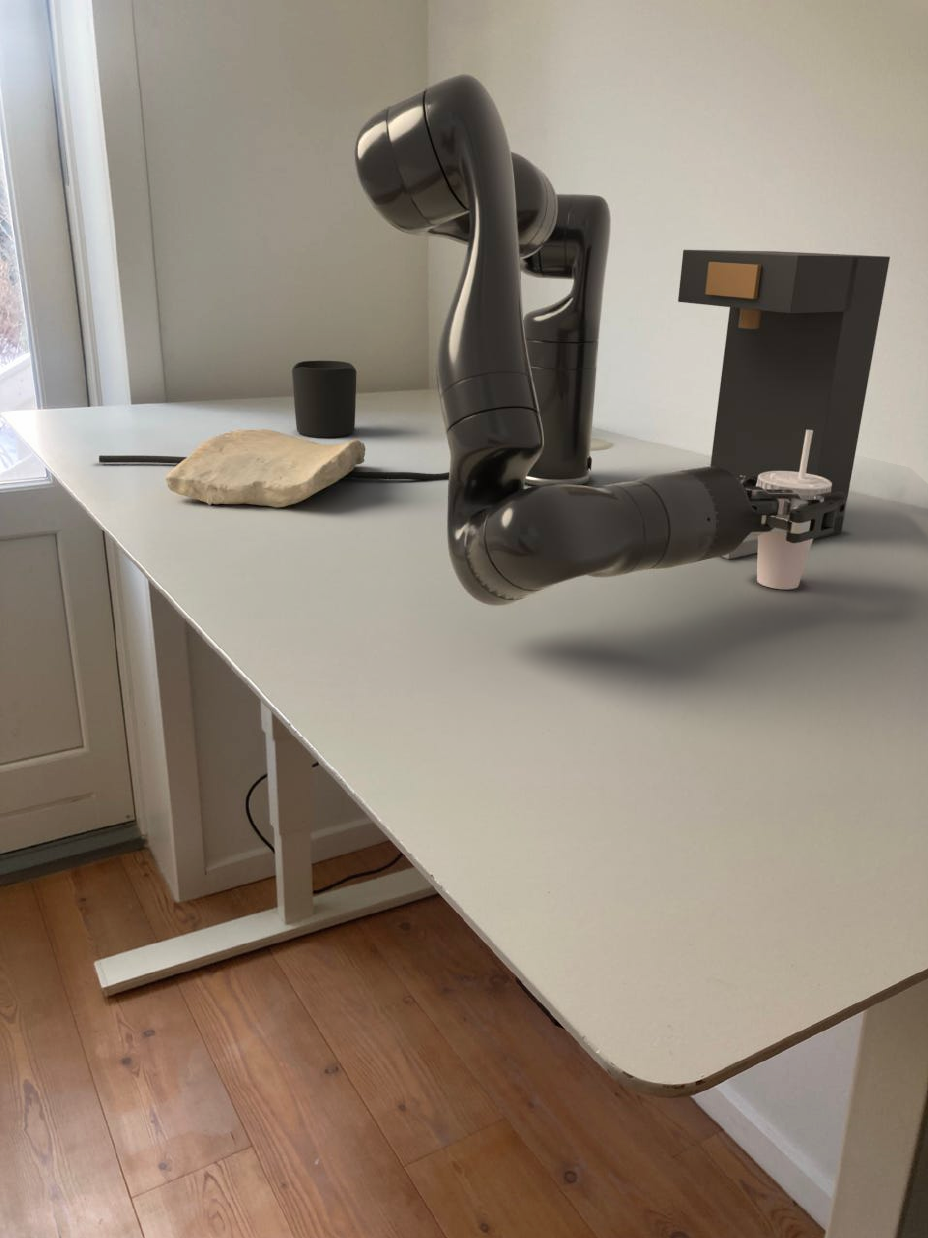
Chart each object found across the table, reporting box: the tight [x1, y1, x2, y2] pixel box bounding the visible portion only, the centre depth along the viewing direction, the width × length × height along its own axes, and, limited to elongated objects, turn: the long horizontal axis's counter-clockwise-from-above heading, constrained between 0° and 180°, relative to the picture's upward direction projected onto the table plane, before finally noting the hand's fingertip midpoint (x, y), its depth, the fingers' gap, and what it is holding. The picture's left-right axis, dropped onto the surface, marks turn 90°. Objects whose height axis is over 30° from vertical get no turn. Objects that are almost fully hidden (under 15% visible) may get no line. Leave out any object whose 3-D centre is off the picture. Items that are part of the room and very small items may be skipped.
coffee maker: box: [677, 249, 891, 560], centre depth 102 cm, size 18×14×28 cm
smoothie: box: [756, 430, 832, 590], centre depth 88 cm, size 6×6×14 cm
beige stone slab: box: [165, 428, 366, 508], centre depth 118 cm, size 24×8×20 cm
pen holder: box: [291, 360, 357, 439], centre depth 147 cm, size 9×9×10 cm
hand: (807, 494), depth 89 cm, fingers closed on smoothie, 6 cm apart
